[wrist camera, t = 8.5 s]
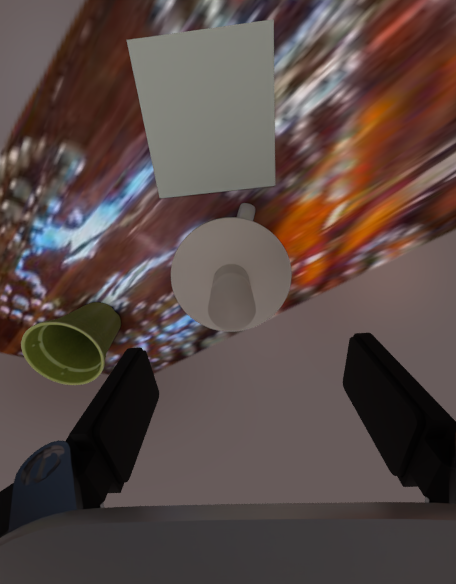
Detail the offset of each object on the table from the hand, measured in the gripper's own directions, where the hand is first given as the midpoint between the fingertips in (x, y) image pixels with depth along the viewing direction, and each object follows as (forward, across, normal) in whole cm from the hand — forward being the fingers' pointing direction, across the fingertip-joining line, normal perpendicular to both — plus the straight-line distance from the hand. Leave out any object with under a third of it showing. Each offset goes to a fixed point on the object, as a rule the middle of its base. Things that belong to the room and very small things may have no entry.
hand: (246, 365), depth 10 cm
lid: (+13, +1, +1) cm, 13 cm away
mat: (+22, +2, -14) cm, 26 cm away
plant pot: (+21, +22, +8) cm, 32 cm away
